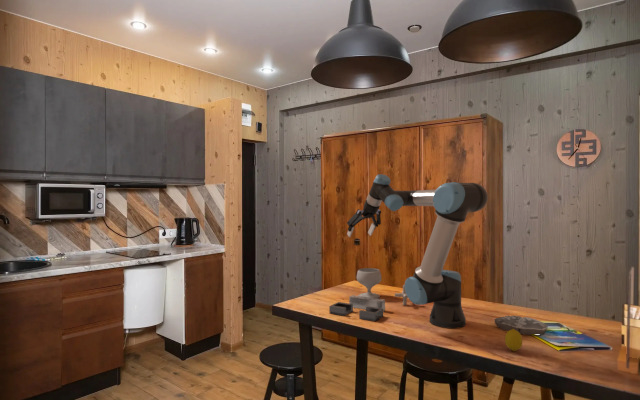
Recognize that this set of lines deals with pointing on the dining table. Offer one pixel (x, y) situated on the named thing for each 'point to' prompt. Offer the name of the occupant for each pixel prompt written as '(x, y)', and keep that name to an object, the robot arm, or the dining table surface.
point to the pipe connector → (402, 295)
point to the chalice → (369, 280)
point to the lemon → (513, 340)
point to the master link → (366, 302)
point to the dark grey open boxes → (369, 314)
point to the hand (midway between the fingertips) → (359, 234)
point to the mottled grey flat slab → (521, 324)
